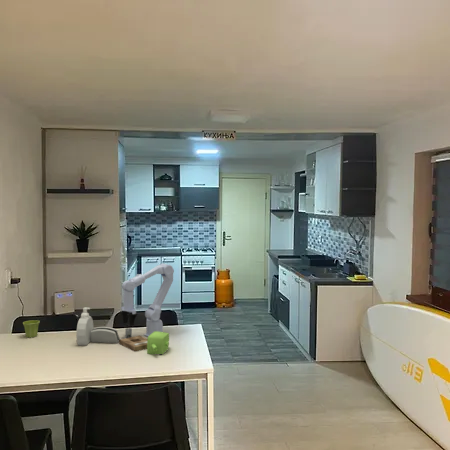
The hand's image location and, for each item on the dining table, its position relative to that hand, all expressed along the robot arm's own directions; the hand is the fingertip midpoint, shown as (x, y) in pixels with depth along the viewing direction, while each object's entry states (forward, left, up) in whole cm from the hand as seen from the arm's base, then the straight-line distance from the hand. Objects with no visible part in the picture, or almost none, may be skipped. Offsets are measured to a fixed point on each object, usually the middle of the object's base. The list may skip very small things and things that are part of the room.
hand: (128, 324), depth 257 cm
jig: (+2, +14, -9) cm, 17 cm away
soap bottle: (+22, -10, -9) cm, 26 cm away
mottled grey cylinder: (0, 0, -9) cm, 9 cm away
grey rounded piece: (+13, -4, -9) cm, 16 cm away
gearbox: (-1, +32, -9) cm, 33 cm away
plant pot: (+42, -43, -9) cm, 61 cm away
